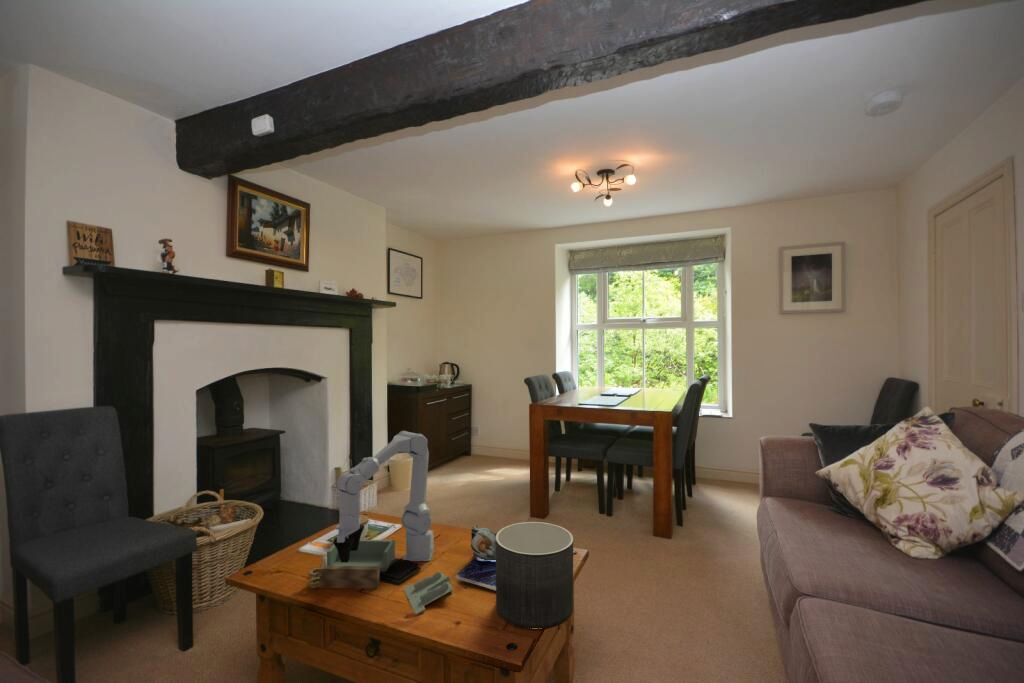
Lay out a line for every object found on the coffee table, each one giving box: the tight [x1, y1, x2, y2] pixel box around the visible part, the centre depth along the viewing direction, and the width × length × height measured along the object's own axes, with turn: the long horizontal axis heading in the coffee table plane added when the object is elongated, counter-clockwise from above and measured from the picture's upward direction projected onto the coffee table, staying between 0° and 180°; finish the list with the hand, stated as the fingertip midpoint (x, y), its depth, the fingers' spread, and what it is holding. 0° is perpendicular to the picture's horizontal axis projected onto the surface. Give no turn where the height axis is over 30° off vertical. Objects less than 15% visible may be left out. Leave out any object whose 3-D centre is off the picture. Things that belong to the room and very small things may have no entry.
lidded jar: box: [338, 513, 370, 540], centre depth 178 cm, size 11×11×9 cm
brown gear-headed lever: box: [308, 565, 381, 589], centre depth 144 cm, size 22×4×6 cm, turn 88°
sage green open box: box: [322, 539, 396, 569], centre depth 156 cm, size 20×13×6 cm, turn 89°
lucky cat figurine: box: [470, 525, 499, 560], centre depth 161 cm, size 15×12×14 cm
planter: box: [495, 521, 574, 630], centre depth 133 cm, size 22×22×20 cm
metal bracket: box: [402, 570, 454, 616], centre depth 139 cm, size 14×6×15 cm
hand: (349, 556), depth 144 cm, fingers open, 7 cm apart
